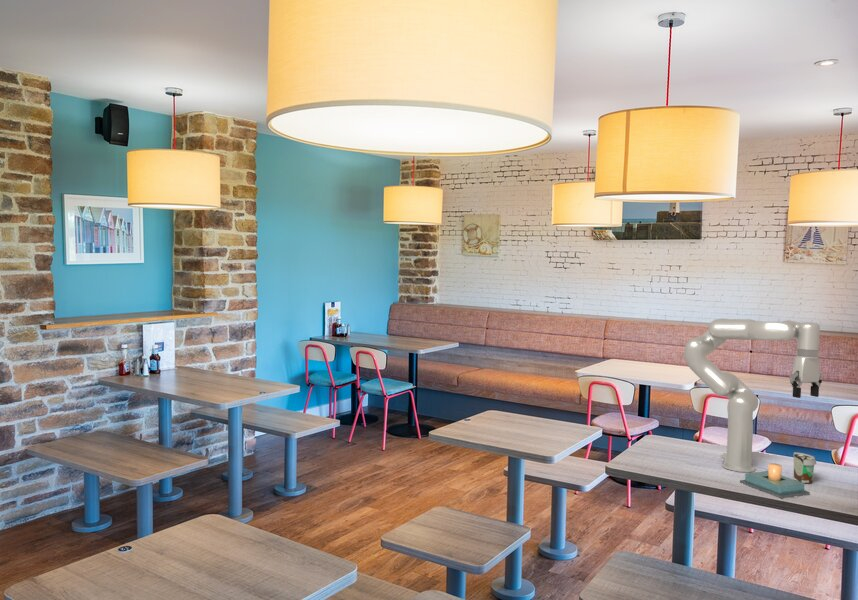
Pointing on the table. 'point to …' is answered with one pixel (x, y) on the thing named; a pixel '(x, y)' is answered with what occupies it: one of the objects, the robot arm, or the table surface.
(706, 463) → the table surface
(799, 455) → the food container
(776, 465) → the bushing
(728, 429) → the robot arm
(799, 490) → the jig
